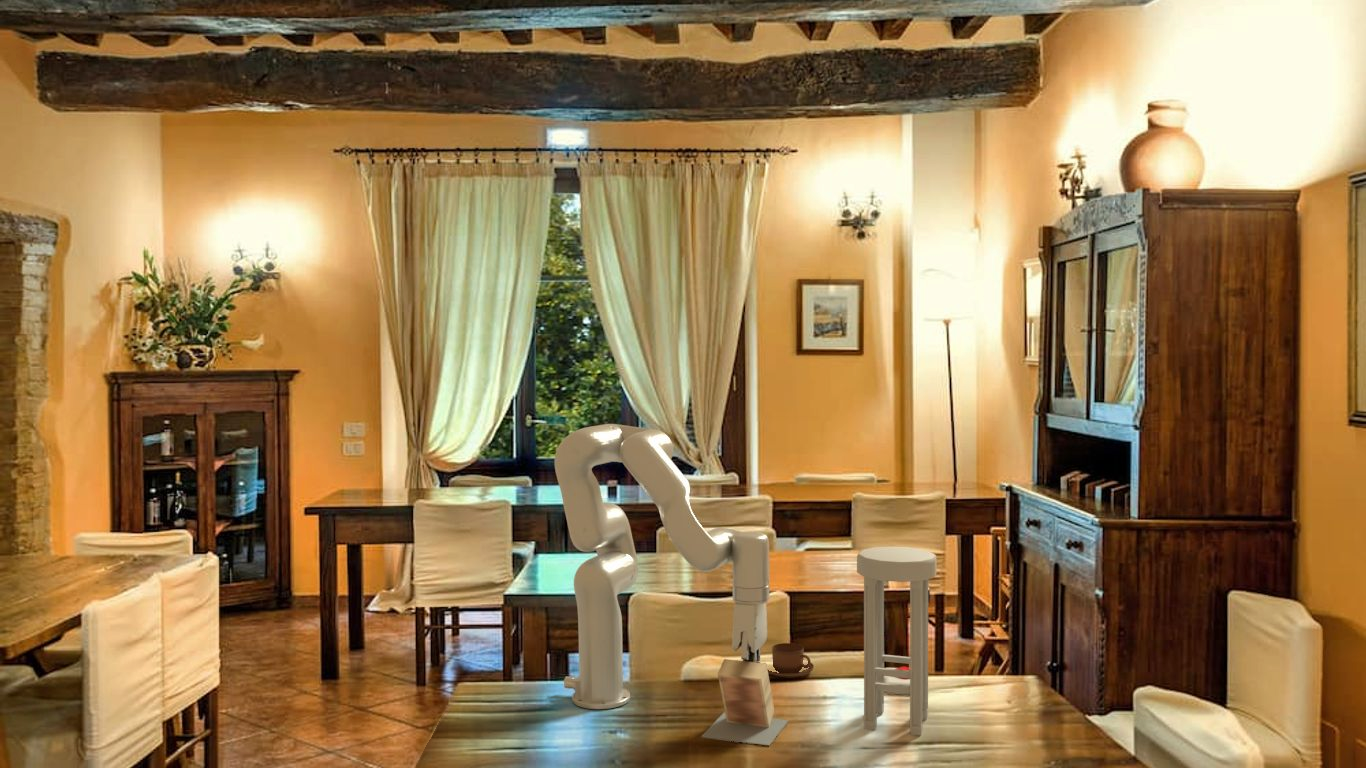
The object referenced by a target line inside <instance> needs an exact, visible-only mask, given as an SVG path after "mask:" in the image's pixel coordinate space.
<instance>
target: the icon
mask: <svg viewBox="0 0 1366 768" xmlns="http://www.w3.org/2000/svg"><path fill="white" fill-rule="evenodd" d="M888 668H889V669H899V670H910V667H907V666H901V667H888ZM884 683H889V684H898V685H908V686H910V678H900V677H890V676H884ZM884 693H886V694H888V695H906V696H908V695H909V696H910V693H906V692H896V691H887V690H884Z"/></svg>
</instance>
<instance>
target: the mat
mask: <svg viewBox="0 0 1366 768" xmlns="http://www.w3.org/2000/svg"><path fill="white" fill-rule="evenodd" d="M788 723H789V720H788V719H780V718H774V717H773V718H772V721H771V724H770V727H762V726H754V725H746V724H738V723H730V722H727V720H726V715H725V711H724V712H723V713H722V714H720V716H719V717H718V718H717V719H716V720H715V721H714V722H713V724H711V726H710V727H708V728H707V730H706V731H704V733H703V734H702V735H701V738H702V739H711V740H717V741H725V742H731V741H732V742H733V741H734V742H733V743H739V742H742V743H741V744H746V743H747V745H754V744H761V745H770V744H771V743H772V742H774V741H775V740H776V739H777V737H778V736H779V735H780V733H781V732H782V731H783V729H784V728H785V727H786V726H787V724H788ZM785 725H786V726H785ZM781 730H782V731H781ZM778 734H779V735H778ZM777 735H778V736H777ZM776 736H777V737H776ZM775 738H776V739H775ZM774 739H775V740H774ZM772 744H773V743H772ZM772 744H771V745H772ZM761 745H760V746H761ZM771 745H770V746H771Z"/></svg>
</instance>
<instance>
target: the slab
mask: <svg viewBox="0 0 1366 768" xmlns="http://www.w3.org/2000/svg"><path fill="white" fill-rule="evenodd" d="M757 662H758V661H757ZM757 662H747V661H743V660H736V659H734V660H733V659H726V658H724V659H723V660H722V662H721V666H720V668H719V671H718V673H717V677H718V682H719V687H720V692H721V693H720V694H721V698H722V702H723V708H724V712H725V715H726V720H727V722H730V723H738V724H746V725H754V726H762V727H770V724H771V721H772V718H774V714H775V707H774V699H773V695H772V690H771V689H772V687H771V681H770V676H769V673H768V669H767V664H766V663H764V662H760V663H757Z"/></svg>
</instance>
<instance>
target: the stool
mask: <svg viewBox="0 0 1366 768" xmlns="http://www.w3.org/2000/svg"><path fill="white" fill-rule="evenodd" d="M937 572H938V571H937V554H935V553H933V552H931V551H929V550H927V549H921V548H917V547H911V546H910V547H909V546H894V545H893V546H892V545H891V546H876V547H868V548H865V549H861V551H859V553H858V554H857V555H856V573H857V574H859V575H860V576H862V577H863V720H864V721H863V729H864V730H869V729H872V730H871V731H875V730H876V729H877V727H878V717H877V716H878V715H880V716H883V714H884V711H885V700H884V699H885V695H884V694H885V690H887V691H896V692H906V693H910V695H909V735H913V736H921V737H922V735H923V730H924V729H923V728H924V727H923V722H924V721H925V720H928V717H929V580H930V579H934V578H935V577H936V576H937ZM885 582H896V583H907V582H909V583H910V584H909V587H910V589H909V593H910V594H909V598H910V599H909V603H910V604H909V641H910V642H909V656H904V655H903V656H901V655H891V654H885V636H884V635H885V633H884V632H885ZM885 662H886V663H887V662H888V663H895V664H896V663H897V664H898V663H899V664H909V668H910V670H899V669H889V668H890V667H885ZM884 676H890V677H900V678H910V686H908V685H898V684H889V683H884ZM923 720H924V721H923Z"/></svg>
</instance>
